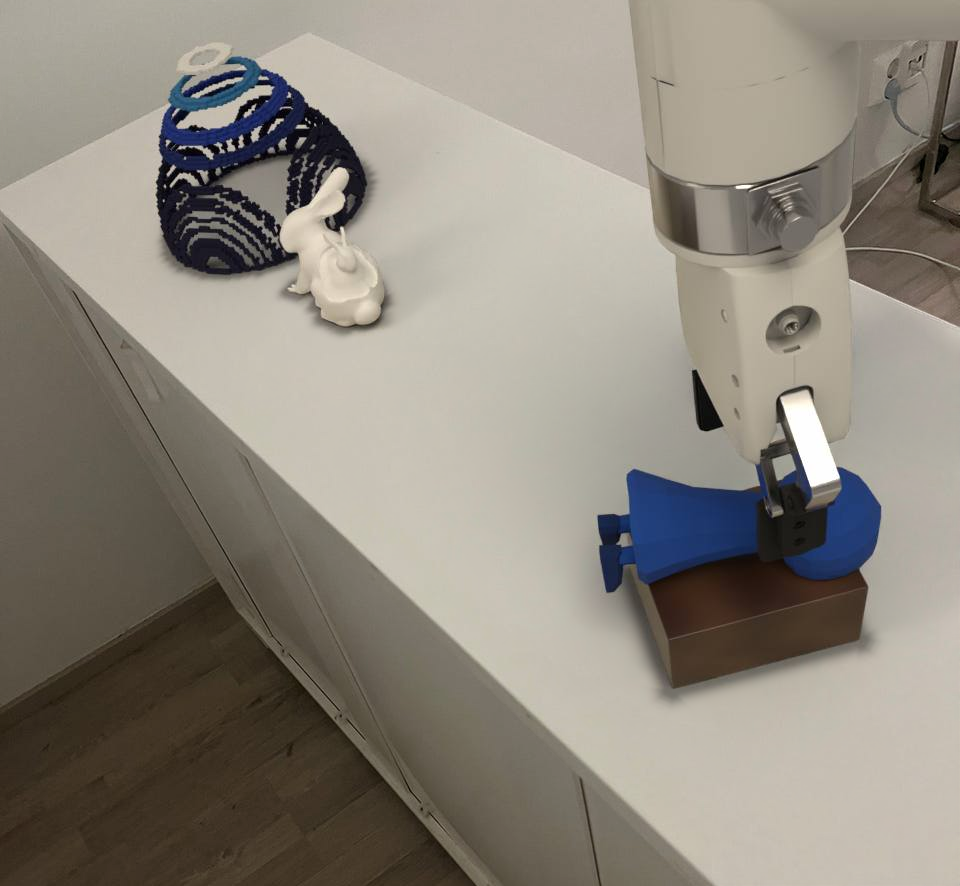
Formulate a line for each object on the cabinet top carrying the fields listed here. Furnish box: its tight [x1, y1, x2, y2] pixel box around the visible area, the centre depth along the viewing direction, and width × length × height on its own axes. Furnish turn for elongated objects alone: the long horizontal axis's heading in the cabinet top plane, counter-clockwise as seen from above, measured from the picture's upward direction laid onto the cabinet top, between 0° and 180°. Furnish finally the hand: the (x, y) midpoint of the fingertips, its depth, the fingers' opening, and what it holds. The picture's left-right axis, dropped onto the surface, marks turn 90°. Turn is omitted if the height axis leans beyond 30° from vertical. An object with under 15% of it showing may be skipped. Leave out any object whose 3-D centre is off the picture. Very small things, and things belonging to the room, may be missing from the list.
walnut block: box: [626, 478, 869, 689], centre depth 58 cm, size 11×9×5 cm
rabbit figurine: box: [280, 167, 386, 327], centre depth 83 cm, size 12×8×10 cm, turn 35°
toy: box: [596, 466, 882, 594], centre depth 54 cm, size 7×6×15 cm
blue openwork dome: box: [154, 41, 368, 276], centre depth 92 cm, size 20×20×14 cm
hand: (757, 482), depth 52 cm, fingers open, 9 cm apart
